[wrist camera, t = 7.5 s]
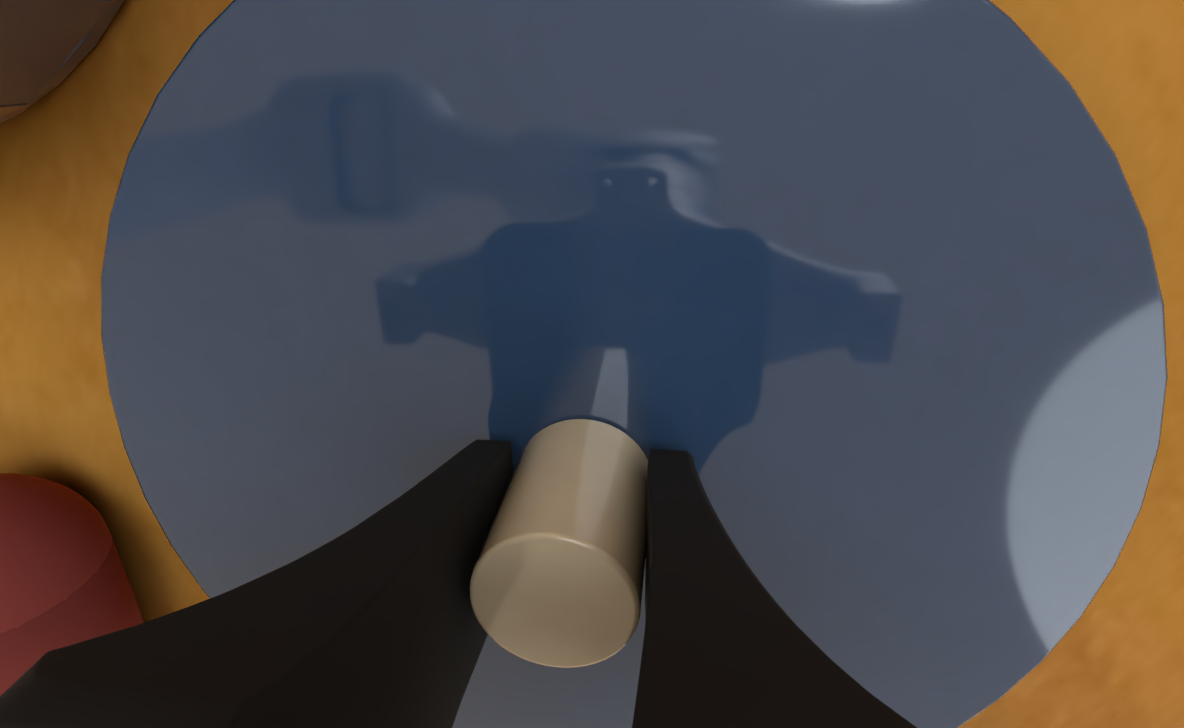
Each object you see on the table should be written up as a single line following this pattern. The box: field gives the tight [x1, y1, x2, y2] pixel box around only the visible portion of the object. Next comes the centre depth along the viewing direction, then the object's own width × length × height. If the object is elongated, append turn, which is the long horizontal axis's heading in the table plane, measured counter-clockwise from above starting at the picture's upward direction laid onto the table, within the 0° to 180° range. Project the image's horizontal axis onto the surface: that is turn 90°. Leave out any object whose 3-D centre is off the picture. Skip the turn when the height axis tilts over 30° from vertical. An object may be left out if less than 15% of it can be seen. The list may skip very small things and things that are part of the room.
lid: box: [101, 0, 1167, 728], centre depth 11 cm, size 18×18×4 cm
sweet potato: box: [0, 474, 144, 696], centre depth 16 cm, size 4×8×4 cm, turn 1°
